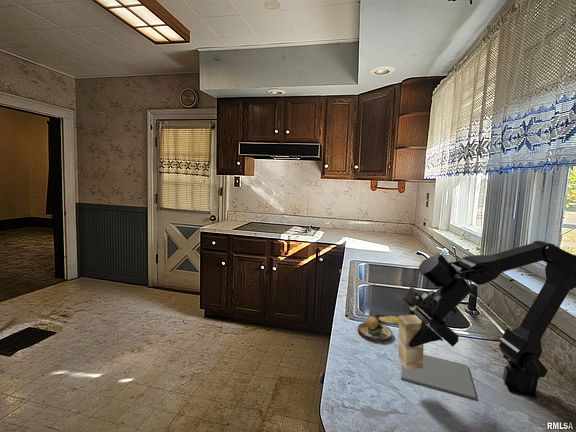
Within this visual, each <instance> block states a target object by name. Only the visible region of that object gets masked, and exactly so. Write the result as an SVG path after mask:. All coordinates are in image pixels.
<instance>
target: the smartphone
mask: <svg viewBox="0 0 576 432" xmlns="http://www.w3.org/2000/svg"><path fill="white" fill-rule="evenodd" d="M373 318H376V319H377V321H378V323H379V324H382V325H392V326H399V315H398V316H396V315H385V314H375V313H374V314H373Z"/></svg>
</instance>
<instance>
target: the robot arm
mask: <svg viewBox="0 0 576 432" xmlns="http://www.w3.org/2000/svg"><path fill="white" fill-rule="evenodd" d="M542 261H543V262H544V263H546V265H545V268H544V271H545V272H544V273H545V281H544V284H543V286H542V287H541V288H540V291H539V292H538V294H537V296H536V297H535V299H534V301H533V302H532V304H531V306H530V308H529V309H528V311H527V313H526V314H525V316H524V318H523V319H522V321H521V323H520V325H519V326H517V327H516V328H514V329H510V328H506V329H505V330H504V333H503V334H502V336H501V337H500V339H498V340H499V341H500V343H499V346H498V347H499V349H500V352H501V353H502V355H503V358H504V359H505V360H507V364H506V365H505V366H504V367H503V375H502V376H503V377H502V381H503V382H504V385H505V386H506V388H507V390H508V392H511V393H514V394H518V395H522V396H526V397H530V398H534V399H539V395H538V393H537V389H538V382H539V379H540V378H545V376H546V375H547V373H548V371H549V370H548V369H547V367H546V366H545V365H544V364H543V363H542V362H541V360H540V358H541V356H542V353H543V348H542V346H543V345H542V337H543V336H544V334H545V332H546V330H547V329H548V327H549V326H550V324H551V322H552V320H553V319H554V317H555V316H556V314H557V312H558V310H559V309H560V307H561V306H562V304H563V302H564V300H565V299H566V297H567V296H568V294H569V292H570V291H572V290H574V289H576V254H573V253H571V252H568V251H567V250H564V249H563V248H560V247H558V246H557V245H555V244H554V243H550V242H547V241H543V240H535V241H532V243H528V244H525V245H521V246H518V247H515V248H512V249H508V250H505V251H500V252H498V253H497V252H496V253H493V254H488V255H487V254H486V255H483V254H476V255H475V254H474V255H469V256H464V257H462V258H460V259H459V260H456V261H452V262H449V261H447V258H445V257H444V256H443V255H442V254H440V253H439V252H437V253H435V255H432V256H429V257H427V258H425V259H423V261H422V262H421V263H420V264H419V266H418V272H419V273H420V274H421V275H422V276H423V277H424V278H425V279H426V280H428V281H429V282H430V284H433V286H434V287H436V288H438V289H437V290H436V291H434V290H433V289H432V290H430V291H428V293H427V292H425V291H422V290H420V289H417V288H414V287H411V286H410V287H409V289H408V291H407V293H406V294H405V296H404V297H403V298H402V300H403V301H404V302H405V303H406V304H407V305H406V309H407V313H408V314H407V315H416V316H417V317H418V318H419V319H420V320H421V321H422V322H421V329H420V330H419V331H418V333H417V334H416V335H415V336H414V337H413V339H412V340H411V341H410V343H409V346H410V347H415V346H419V345H422V344H423V345H424V344H428V343H432V342H437V341H441V342H443V341H445V342H446V343H448V344H449V345H450V346H452V348H453V347H454V346H456V344H457V343H458V342H459V335H458V334H457V333H456V332H455V331H453V329H451V328H450V327H449V326H448V325H447V322H446V321H445V320H446V318H448V316H449V315H450V314H451V313H453V314H454V315H456V314H457V312H459V311H458V309H456V308H457V307H458V306H459V305H460V304H461V303H462V302H463V301H464V300H465V298H467V296H469V295H471V296H472V297H474V298H478V296H479V295H478V287H477V286H481V285H482V286H483V285H486V284H488V283H490V282H493V281H494V280H496V279H497V278H498V277H499V276H500V275H501V274H502V273H505V272H507V271H510V270H514V269H518V268H521V267H525V266H528V265H531V264H535V263H538V262H542ZM456 276H459V277H456ZM468 281H470V282H471V283H468ZM476 285H477V286H476ZM408 305H409V306H408ZM423 318H424V319H423ZM425 320H426V321H427V322H428V323H427V322H426V321H425Z"/></svg>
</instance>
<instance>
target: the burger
mask: <svg viewBox="0 0 576 432" xmlns="http://www.w3.org/2000/svg"><path fill="white" fill-rule="evenodd" d="M368 317H369V318H367V319H366V321H365V322H362V323H360V324H359V325H358V327H357V333H358V335H359V336H360V337H361V338H362V339H364V340H365V341H366V340H367V341H369V342H372V343H376V344H377V343H387V342H388V341H389V339H390V338H392V336H393V332H392V329H390V327H388V326H386V325H385V324H379V323H378V321H377V319H376V318H374V317H370V316H368Z"/></svg>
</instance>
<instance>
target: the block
mask: <svg viewBox="0 0 576 432" xmlns="http://www.w3.org/2000/svg"><path fill="white" fill-rule="evenodd" d="M398 317H399V325H398V360H399V362H400V363H401V364H403V366H404V367H405V369H406V370H408V369H418V368H423V354H424V344H422V345H419V346H415V347H410V346H409V343H410V341H411V340H412V339H413V337H414V336H415V335H416V334H417V333H418V331H419V330H420V329H421V322H422V321H421V320H420V319H419V318H418V317H417V316H416V315H408V314H406V315H398Z"/></svg>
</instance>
